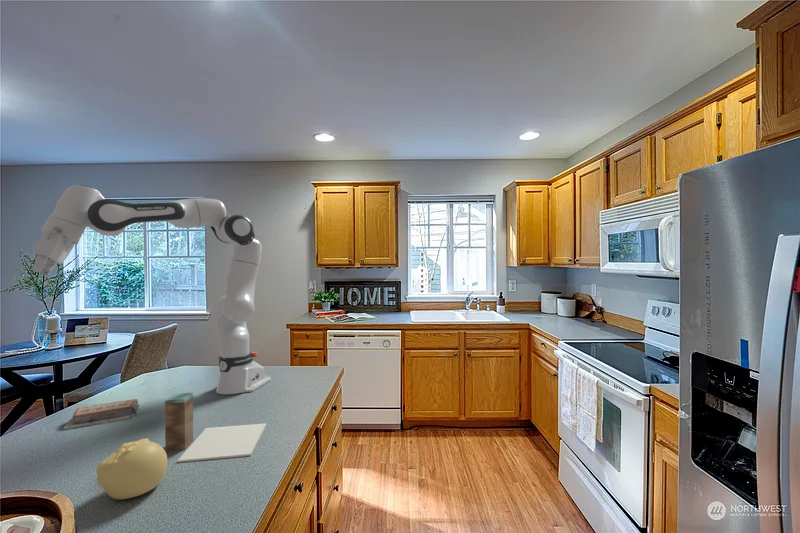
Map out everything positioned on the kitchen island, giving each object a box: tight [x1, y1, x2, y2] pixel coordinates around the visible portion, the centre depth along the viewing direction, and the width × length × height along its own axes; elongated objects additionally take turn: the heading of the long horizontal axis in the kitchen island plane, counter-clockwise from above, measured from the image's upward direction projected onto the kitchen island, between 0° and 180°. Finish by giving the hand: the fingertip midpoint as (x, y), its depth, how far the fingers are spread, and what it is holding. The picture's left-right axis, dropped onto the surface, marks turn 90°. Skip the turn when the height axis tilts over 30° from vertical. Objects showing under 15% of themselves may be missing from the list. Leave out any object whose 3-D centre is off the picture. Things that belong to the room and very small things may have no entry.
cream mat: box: [177, 422, 267, 463], centre depth 99 cm, size 18×18×1 cm
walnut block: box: [164, 392, 194, 452], centre depth 97 cm, size 5×5×14 cm
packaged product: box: [62, 398, 141, 431], centre depth 116 cm, size 18×5×10 cm
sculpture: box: [95, 438, 169, 500], centre depth 78 cm, size 11×12×11 cm
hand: (39, 273), depth 103 cm, fingers open, 8 cm apart
